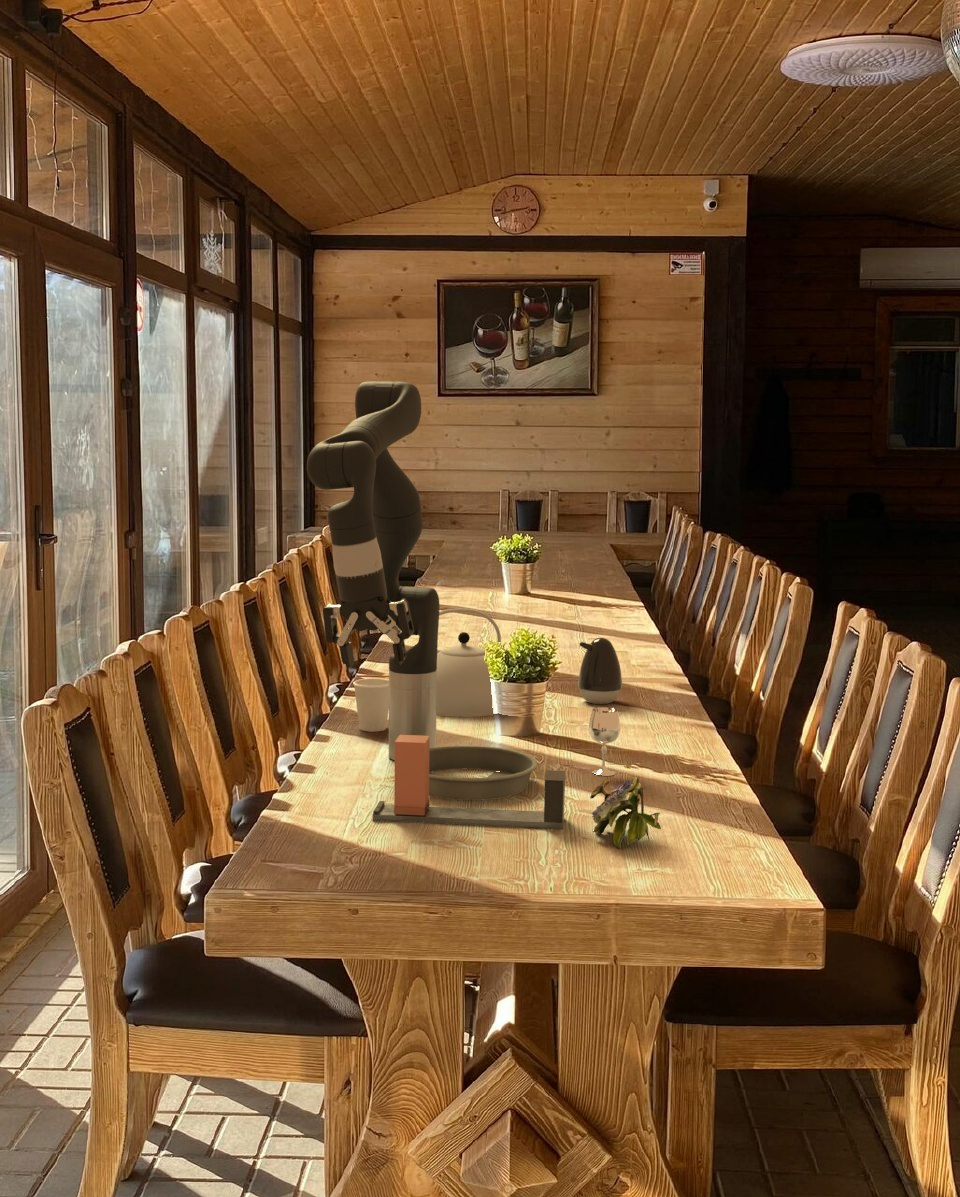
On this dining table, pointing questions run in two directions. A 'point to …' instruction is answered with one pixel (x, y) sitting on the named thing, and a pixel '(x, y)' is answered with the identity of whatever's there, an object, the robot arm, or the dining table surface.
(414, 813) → the block
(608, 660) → the pump dispenser
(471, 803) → the dining table surface
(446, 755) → the cake pan
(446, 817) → the rail
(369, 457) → the robot arm
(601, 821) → the passion flower
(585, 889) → the dining table surface
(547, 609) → the dining table surface
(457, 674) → the kettle
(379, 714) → the dixie cup
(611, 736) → the wineglass
